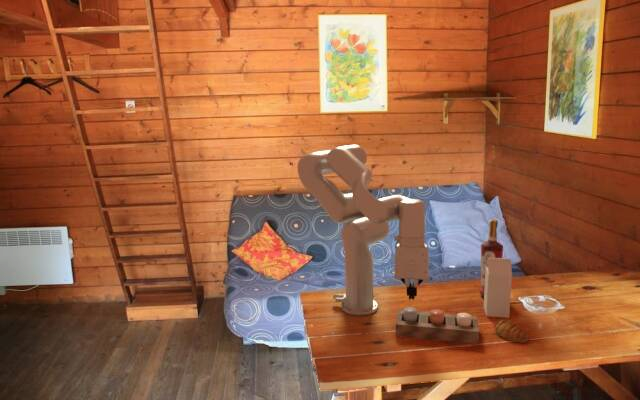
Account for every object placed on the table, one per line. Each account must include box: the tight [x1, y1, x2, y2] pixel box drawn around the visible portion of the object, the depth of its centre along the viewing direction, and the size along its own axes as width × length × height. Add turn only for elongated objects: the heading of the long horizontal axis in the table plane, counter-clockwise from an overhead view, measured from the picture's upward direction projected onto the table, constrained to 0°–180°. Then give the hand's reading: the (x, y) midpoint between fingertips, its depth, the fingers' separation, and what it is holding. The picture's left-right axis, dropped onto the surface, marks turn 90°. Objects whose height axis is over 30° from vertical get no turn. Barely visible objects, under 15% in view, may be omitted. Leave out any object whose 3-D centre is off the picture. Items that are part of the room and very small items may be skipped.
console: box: [395, 309, 480, 345], centre depth 147 cm, size 24×10×4 cm, turn 76°
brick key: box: [429, 308, 445, 325], centre depth 147 cm, size 4×4×4 cm
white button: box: [456, 312, 473, 327], centre depth 145 cm, size 4×4×4 cm
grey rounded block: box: [403, 306, 418, 322], centre depth 149 cm, size 4×4×4 cm
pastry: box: [494, 319, 530, 343], centre depth 144 cm, size 9×7×4 cm
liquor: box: [479, 219, 504, 297], centre depth 168 cm, size 7×7×28 cm
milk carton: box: [483, 257, 513, 319], centre depth 157 cm, size 7×7×19 cm
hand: (411, 297), depth 147 cm, fingers closed
